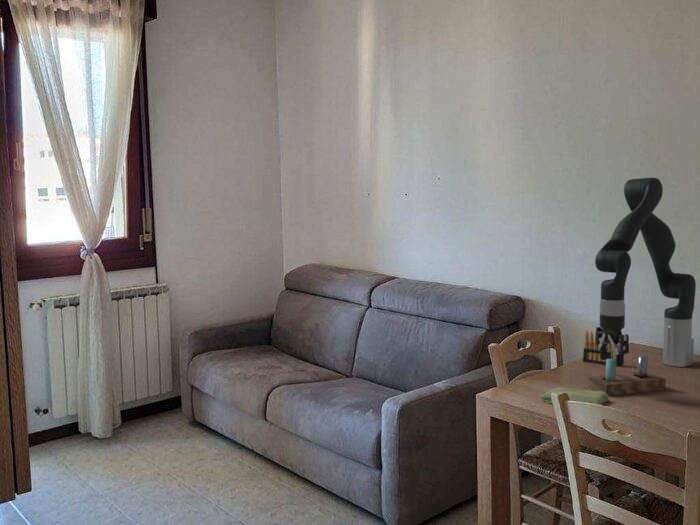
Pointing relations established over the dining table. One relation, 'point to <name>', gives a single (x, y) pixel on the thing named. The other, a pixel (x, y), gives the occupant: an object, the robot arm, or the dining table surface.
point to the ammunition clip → (594, 350)
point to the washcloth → (579, 395)
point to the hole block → (627, 384)
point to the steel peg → (642, 367)
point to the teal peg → (610, 370)
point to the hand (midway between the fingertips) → (611, 362)
